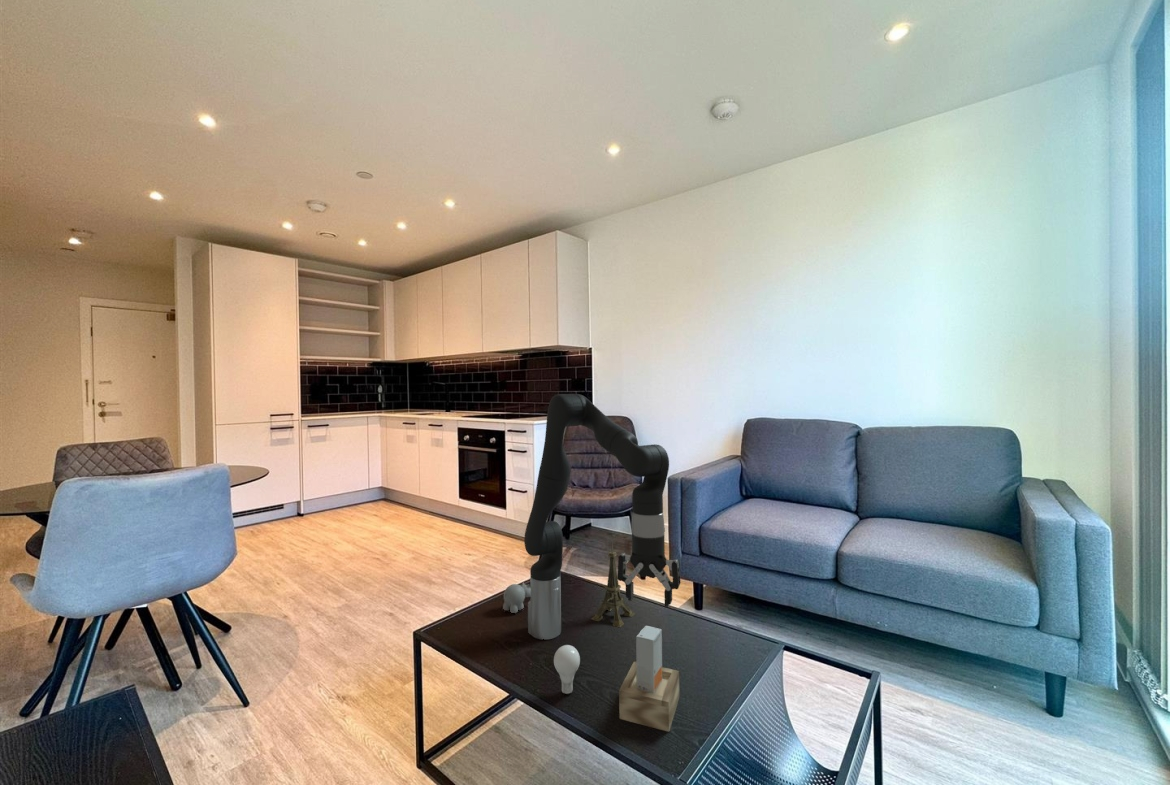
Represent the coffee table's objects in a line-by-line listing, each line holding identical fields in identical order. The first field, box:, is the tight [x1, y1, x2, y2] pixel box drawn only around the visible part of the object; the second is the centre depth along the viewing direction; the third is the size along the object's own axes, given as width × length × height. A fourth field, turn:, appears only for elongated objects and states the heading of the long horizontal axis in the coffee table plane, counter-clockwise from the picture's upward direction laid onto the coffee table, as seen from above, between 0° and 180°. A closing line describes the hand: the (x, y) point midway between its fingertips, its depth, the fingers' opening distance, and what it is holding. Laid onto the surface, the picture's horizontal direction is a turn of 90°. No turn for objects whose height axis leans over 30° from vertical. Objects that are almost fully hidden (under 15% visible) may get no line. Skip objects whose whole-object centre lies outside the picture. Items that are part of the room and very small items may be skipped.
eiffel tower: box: [590, 540, 636, 628], centre depth 148 cm, size 11×11×25 cm
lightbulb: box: [553, 644, 581, 695], centre depth 109 cm, size 6×6×11 cm
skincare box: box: [635, 625, 663, 694], centre depth 103 cm, size 6×4×12 cm
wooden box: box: [618, 661, 680, 733], centre depth 103 cm, size 11×12×6 cm
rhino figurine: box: [502, 581, 531, 614], centre depth 155 cm, size 7×12×8 cm, turn 140°
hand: (648, 602), depth 104 cm, fingers open, 8 cm apart
